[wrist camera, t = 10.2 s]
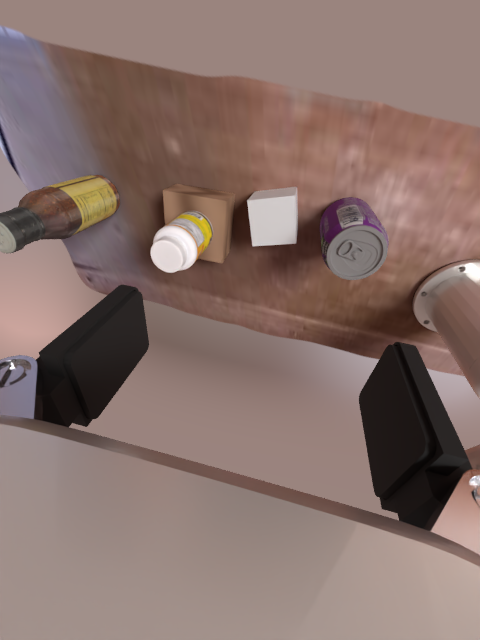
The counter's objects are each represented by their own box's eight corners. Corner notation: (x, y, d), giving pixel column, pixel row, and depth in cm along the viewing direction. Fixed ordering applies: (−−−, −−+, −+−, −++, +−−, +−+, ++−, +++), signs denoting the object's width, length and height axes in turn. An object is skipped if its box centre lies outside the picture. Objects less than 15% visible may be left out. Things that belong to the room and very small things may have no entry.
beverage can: (309, 232, 41) (309, 265, 31) (340, 186, 36) (350, 208, 27) (349, 254, 41) (360, 293, 32) (383, 212, 37) (408, 242, 28)
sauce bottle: (86, 205, 46) (-31, 247, 30) (86, 166, 42) (-48, 191, 26) (122, 221, 46) (25, 272, 30) (126, 184, 42) (16, 220, 27)
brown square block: (235, 193, 40) (226, 200, 36) (230, 251, 45) (222, 263, 41) (177, 183, 41) (162, 190, 37) (179, 241, 46) (166, 252, 42)
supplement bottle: (190, 253, 41) (160, 285, 33) (170, 218, 39) (133, 243, 31) (221, 240, 39) (198, 270, 31) (202, 202, 36) (171, 225, 28)
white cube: (297, 186, 38) (295, 195, 33) (297, 229, 41) (296, 243, 36) (254, 191, 39) (247, 200, 34) (258, 232, 42) (252, 246, 38)
